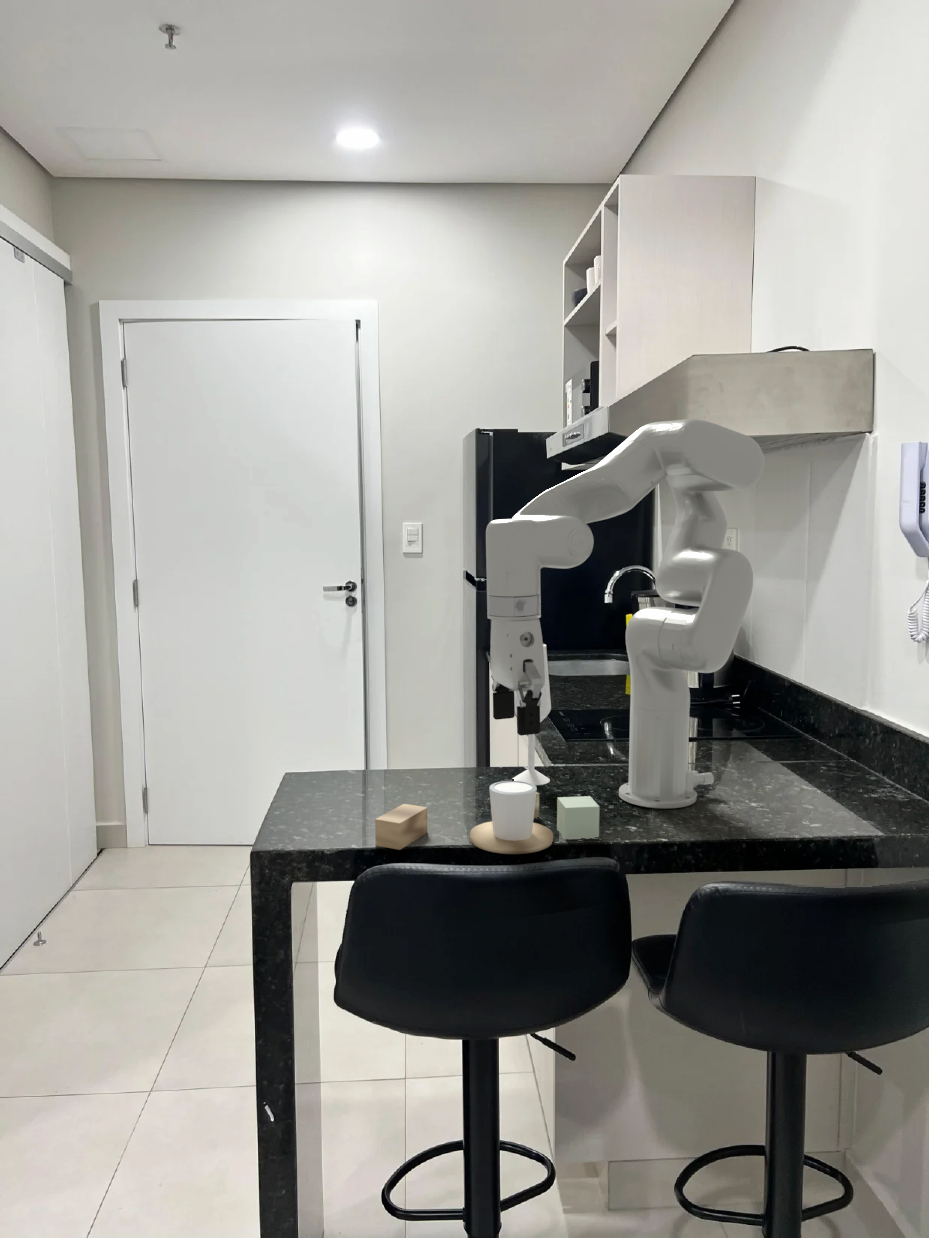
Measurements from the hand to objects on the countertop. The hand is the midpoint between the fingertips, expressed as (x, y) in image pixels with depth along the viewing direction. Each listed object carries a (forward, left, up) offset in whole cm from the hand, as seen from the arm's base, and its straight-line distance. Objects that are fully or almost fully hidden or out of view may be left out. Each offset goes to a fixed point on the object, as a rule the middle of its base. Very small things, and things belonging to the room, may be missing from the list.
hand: (515, 725), depth 134 cm
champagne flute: (-13, -27, -17) cm, 34 cm away
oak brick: (+16, -5, -17) cm, 23 cm away
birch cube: (-4, -9, -17) cm, 19 cm away
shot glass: (0, 0, -16) cm, 16 cm away
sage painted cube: (-9, +1, -17) cm, 19 cm away
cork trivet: (+1, 0, -17) cm, 17 cm away
